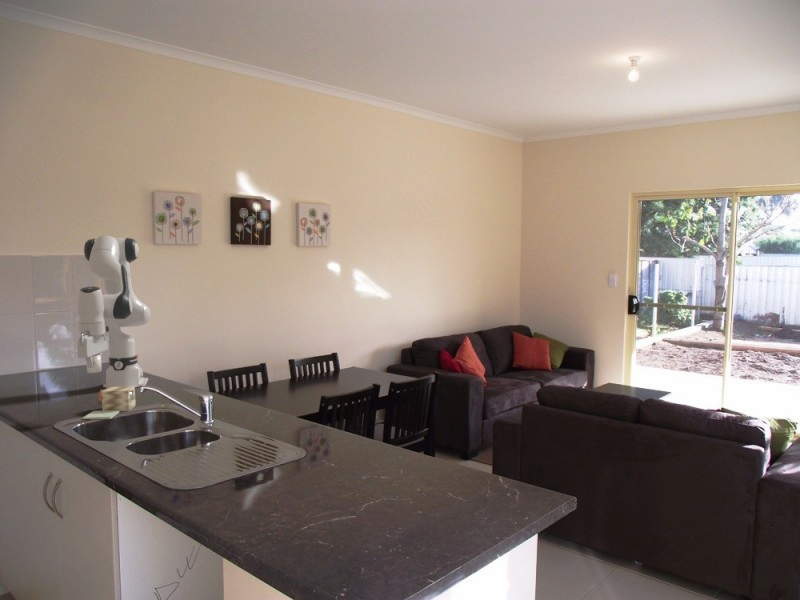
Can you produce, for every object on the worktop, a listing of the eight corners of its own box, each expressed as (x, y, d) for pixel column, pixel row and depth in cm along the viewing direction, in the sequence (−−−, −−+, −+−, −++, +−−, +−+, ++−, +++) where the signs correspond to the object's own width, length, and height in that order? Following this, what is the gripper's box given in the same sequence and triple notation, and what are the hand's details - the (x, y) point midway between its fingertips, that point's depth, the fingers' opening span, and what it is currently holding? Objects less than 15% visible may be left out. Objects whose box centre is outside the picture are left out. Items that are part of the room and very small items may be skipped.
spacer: (90, 370, 239) (89, 355, 239) (103, 370, 240) (102, 354, 239) (84, 373, 234) (83, 357, 234) (98, 372, 235) (97, 356, 234)
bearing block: (102, 412, 245) (101, 391, 244) (110, 406, 252) (109, 386, 252) (128, 411, 245) (127, 390, 245) (135, 406, 253) (134, 386, 253)
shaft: (98, 406, 245) (97, 391, 245) (104, 402, 251) (103, 388, 251) (129, 405, 246) (128, 390, 246) (134, 401, 252) (133, 387, 252)
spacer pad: (93, 412, 243) (93, 410, 243) (120, 412, 244) (119, 410, 244) (82, 419, 233) (82, 417, 233) (110, 418, 234) (110, 416, 234)
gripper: (89, 333, 226) (91, 370, 227) (111, 326, 246) (112, 361, 247) (71, 333, 225) (73, 371, 226) (94, 326, 246) (96, 361, 247)
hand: (94, 366), depth 237 cm, fingers closed on spacer, 5 cm apart
